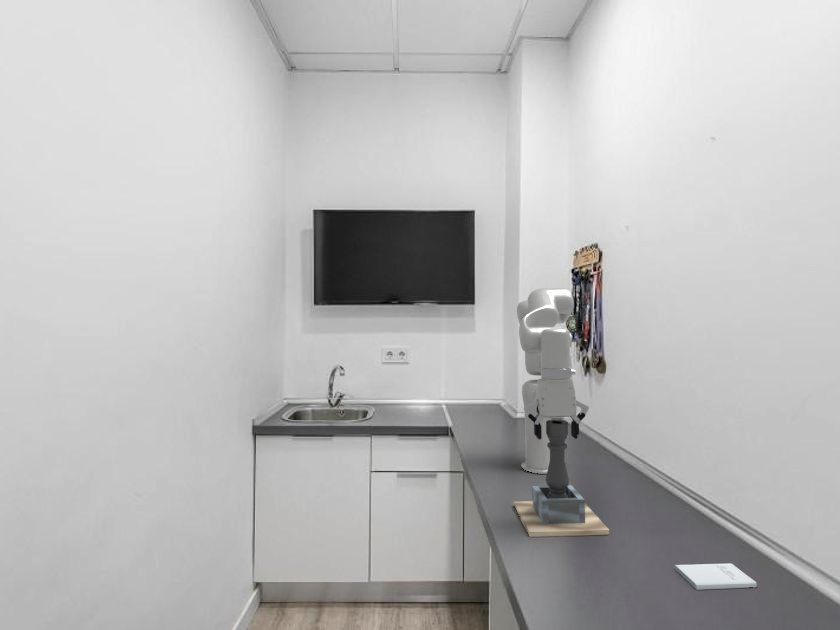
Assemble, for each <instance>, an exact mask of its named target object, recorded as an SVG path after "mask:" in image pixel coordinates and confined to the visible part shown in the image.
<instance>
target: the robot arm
mask: <svg viewBox="0 0 840 630" xmlns="http://www.w3.org/2000/svg"><path fill="white" fill-rule="evenodd" d="M574 305H575V301H574V296H573V294H572V292H571V291H570V290H569V289H567V288H563V287H562V288H537V289H535V290H533V291H531V292H530V293H529V295H528V297H527V299H526V300H523V301H521V302H519V303H518V304H517V306H516V315H517V316H516V317H517V320H518V323H519V327H518V336H519V343H520V347H521V349H522V350H523V352H524V360H525V361H524V364H525V370H526V373H527V374H529V375H530V376H537V377H539V376H540V378H538V379H530V380H527V381H525V382H524V383H523V384H522V387H521V396H522V401H523V410H524V436H525V438H524V440H525V441H524V442H525V443H524V444H525V446H524V449H525V461H523V462H522V463H521V464H520V467H522V468H523V469H524V470H523V469H522V468H521V469H522V470H523V471H525V470H526V471H525V472H527V471H529V472H528V473H530V472H532V473H531V474H537V473H538V474H539V475H547V471H548V466H549V462H550V449H549V448H548V447H547V444H548V443H549V442H550V441H549V438H548V437H547V434H546V421H548V420H553V419H552V418H571V420H572V421H571V422H570V432H571V433H570V435H571V437H572V438H573V439H576V440H577V439H578V436H579V435H580V424H581V422H582V421H583V419H585V418H586V415H587V414H588V413H587V412H588V411H589V405H586V404H584V403H583V402H580V401H578V400H577V399H576V398H577V397H576V390H575V385H574V381H573V376H575V375H576V370H575V369H573V364H572V357H571V353H570V352H571V351H570V348H571V347H572V344H573V336H572V333H571V332H570V331H569V329H568V328H566V327H565V326H556V325H557V324H565V323H566V322H567V321H568V320H569V318H570V316H571V315H572V313H573V309H574ZM577 407H578V408H580V412H579V413H578V414H577ZM538 474H537V475H538Z"/></svg>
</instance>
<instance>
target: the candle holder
mask: <svg viewBox="0 0 840 630" xmlns="http://www.w3.org/2000/svg"><path fill="white" fill-rule="evenodd" d="M568 426H569V423H568V421H566V420H562V419H552V420H548V421H546V434H547V437H548V438H549V441H550V442H549V443H548V444H547V447H548V448H549V449H550V462H549V466H548V471H547V474H545V475H546V476H545V483H546V486H549V490H550V491H549V493H548V494H547V499H548V498H568V496H567V494H566V493H565V491H566V488H567V487H568V485H570V477H569V474H568V470H567V464H566V458H565V451H566V450H567V448H568V444H567V443H565V442H566V440H567V437H568V435H569V427H568Z"/></svg>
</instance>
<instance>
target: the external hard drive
mask: <svg viewBox="0 0 840 630" xmlns="http://www.w3.org/2000/svg"><path fill="white" fill-rule="evenodd" d="M673 568H674V570H675V571H676V572H677V573H678V574H679V575H680V576H681V577H682V578H684V579H685V581H687V582H688V584H690V585H691V587H693V588H694V589H695V590H696V591H697V590H698V591H700V590H701V591H702V590H703V591H704V590H723V589H724V590H725V589H727V590H728V589H749V587H753V588H758V587H757V585H758V583H757V582H756V581H755V580H754V579H753V578H751V577H750V576H749V575H747V574H746V573H745V572H743V571H742V570H740V569H739V568H738V567H737V566H736V565H734V564H733V563H732V562H731V563H702V564H700V563H699V564H698V563H697V564H674V567H673Z"/></svg>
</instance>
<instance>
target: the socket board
mask: <svg viewBox="0 0 840 630" xmlns="http://www.w3.org/2000/svg"><path fill="white" fill-rule="evenodd" d="M531 488H532V490H531V491H532V492H531V493H532V494H531V495H532V497H531V498H532V500H528V501H527V500H525V501H523V500H522V501H513V503H512V504H514V506H515V508H516V510H517V512H518V514H519V515H518V514H517V515H518V517H519V516H520V517H519V519H520V521H521V523H522V524H523V527H524V528H525V531H526V532H528V533H527V534H528V536H529V537H530V538H534V537H535V538H539V537H571V536H572V537H573V536H575V537H577V536H578V537H579V536H610V529H609V528H608V527H607V526H606V524H604V522H603V521H602V520H601V519H600V518H599V516H597V515H596V513H594V511H593V510H592V509H591V508H590V506H588V505H587V503H586V501H585V498H584V497H583V496H582V495H581V494H580V493H579V492H578V491H577V490H576V489H575V488H574V486H573V485H571V484H568V487H567V488H566V491H565V493H566V494H567V496H568V498H548V499H547V494H548V493H549V491H550V490H549V486H548V485H532V487H531ZM514 506H513V507H514ZM515 508H514V509H515ZM516 510H515V511H516ZM517 512H516V513H517Z"/></svg>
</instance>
